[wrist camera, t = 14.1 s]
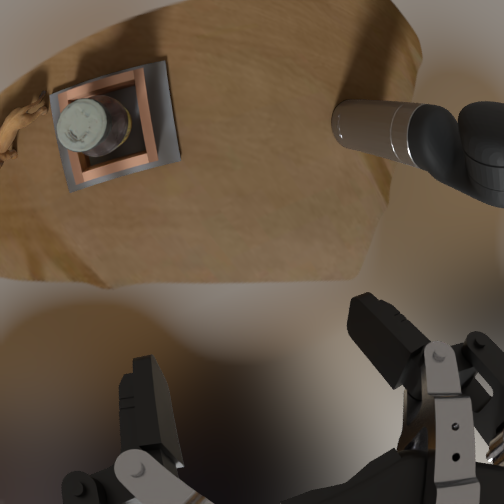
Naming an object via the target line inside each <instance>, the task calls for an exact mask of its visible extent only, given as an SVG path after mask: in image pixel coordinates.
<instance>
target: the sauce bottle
mask: <svg viewBox="0 0 504 504" xmlns="http://www.w3.org/2000/svg"><path fill="white" fill-rule="evenodd" d="M131 129H132V119H131V116H130V113H129V112H128V110H127V109H126V108H125V107H124V106H123V105H122V104H121V103H120V102H119V101H117V100H116V99H114V98H111V97H109V96H105V95H97V96H91V97H89V98H81V99H77V100H75V101H73V102H72V103H70V104H68V105H67V106H66V107H65V108H64V109H63V111H62V112H61V114H60V117H59V119H58V123H57V135H58V139H59V140H60V142H61V144H62V145H63V146H64V147H65V148H67V149H68V150H70V151H73V152H82V153H83V154H85V155H87V156H92V157H98V156H103V155H106V154H108V153H110V152H112V151H113V150H115V149H116V148H117V147H119V146H120V145H121V144H122V143H124V142H125V141H126V139H127V138H128V136H129V134H130V132H131Z"/></svg>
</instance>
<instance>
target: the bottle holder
mask: <svg viewBox="0 0 504 504" xmlns="http://www.w3.org/2000/svg"><path fill="white" fill-rule="evenodd" d="M97 95H105V96H109V97H111V98H114V99H116V100H117V101H119V102H120V103H121V104H122V105H123V106H124V107H125V108H126V109H127V110H128V112H129V113H130V116H131V119H132V129H131V132H130V134H129V136H128V138H127V139H126V141H125V142H124V143H122V144H121V145H120V146H119V147H117V148H116V149H115V150H113V151H112V152H110V153H108V154H106V155H103V156H98V157H92V156H87V155H85V154H83V153H82V152H73V151H70V150H68V149H67V148H65V147H64V146H63V145H62V144H61V142H60V140H59V139H58V135H57V123H58V119H59V117H60V114H61V112H62V111H63V109H64V108H65V107H66V106H67V105H68V104H70V103H72V102H73V101H75V100H77V99H81V98H89V97H91V96H97ZM50 103H51V110H52V116H53V122H54V128H55V133H56V138H57V143H58V148H59V152H60V157H61V161H62V165H63V169H64V173H65V177H66V181H67V185H68V188H69V192H70V193H71V192H74V191H77V190H80V189H83V188H86V187H89V186H92V185H95V184H98V183H101V182H104V181H108V180H111V179H114V178H118V177H121V176H124V175H128V174H131V173H135V172H139V171H142V170H146V169H150V168H154V167H158V166H162V165H166V164H170V163H174V162H178V161H181V158H180V153H179V147H178V142H177V136H176V130H175V124H174V118H173V112H172V105H171V99H170V92H169V85H168V78H167V71H166V63H165V61H160V62H155V63H150V64H146V65H141V66H137V67H133V68H129V69H125V70H121V71H117V72H114V73H110V74H107V75H104V76H100V77H97V78H94V79H91V80H88V81H85V82H82V83H79V84H77V85H74V86H71V87H69V88H66V89H63V90H61V91H58V92H56V93H53V94H51V95H50Z"/></svg>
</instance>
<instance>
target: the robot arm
mask: <svg viewBox="0 0 504 504" xmlns="http://www.w3.org/2000/svg"><path fill="white" fill-rule="evenodd" d="M332 130H333V133H334V136H335V138H336V140H337V141H338V142H339V143H340V144H341V145H342V146H344V147H346V148H348V149H353V150H357V151H361V152H364V153H368V154H372V155H376V156H379V157H383V158H387V159H390V160H393V161H397V162H401V163H403V164H407V165H410V166H413V167H416V168H420V169H422V170H425V171H428V172H429V173H430V174H431V175H432V176H433V177H434V178H435V179H436V180H438V181H440V182H441V183H444V184H446V185H448V186H450V187H452V188H454V189H456V190H458V191H461V192H462V193H465V194H467V195H469V196H471V197H472V198H475V199H477V200H479V201H481V202H483V203H486V204H488V205H491V206H495V207H499V208H504V103H498V102H488V101H485V102H482V101H481V102H475V103H472V104H469V105H467V106H465V107H464V108H463V109H462V110H461V111H460V113H459V116H458V123H457V121H456V119H455V118H454V117H453V116H452V114H451V113H450V112H449V111H448V110H447V109H445V108H443V107H441V106H437V105H430V104H421V103H410V102H398V101H383V100H345V101H343V102H341V103H340V104H339V105H338V106H337V107H336V109H335V110H334V113H333V116H332ZM347 330H348V333H349V335H350V337H351V338H352V340H353V341H354V342H355V343H356V344H357V346H358V347H359V348H360V349H361V351H362V352H363V353H364V354H365V355H366V356H367V358H368V359H369V360H370V361H371V363H372V364H373V365H374V366H375V368H376V369H377V370H378V371H379V373H381V375H382V376H383V377H384V379H385V380H386V381H387V382H388V384H389V385H390V386H391V387H392V389H393V390H394V389H396V388H398V387H399V386H401V385H403V386H404V387H405V390H404V396H403V397H404V399H403V427H402V432H401V435H400V438H399V441H398V445H397V451H396V450H395V448H393V449H391V450H390V451H388V452H386V453H385V454H383V455H382V456H380V457H378V458H376V459H374V460H373V461H371V462H369V464H367V465H366V466H365V467H364V468H363V469H362V470H361V471H359V472H358V473H357V474H356V475H355V476H353V477H352V478H351V479H350V480H349V481H348V482H346V483H343V484H340V485H335V486H331V487H326V488H321V489H315V490H311V491H308V492H306V493H303V494H300V495H298V496H295V497H292V498H290V499H287V500H284V501H281V502H280V504H504V352H502V350H500V348H499V347H498V346H497V345H496V344H495V343H494V342H493V341H492V340H491V339H490V338H489V337H488V336H487V335H485V334H483V333H481V332H477V331H475V332H471V333H469V335H468V336H467V338H466V340H465V342H464V343H460V344H456V345H453V346H449V345H448V344H446V343H444V342H441V341H434V342H431V341H430V340H429V339H428V338H427V337H425V336H424V335H423V334H422V333H421V332H420V331H419V330H418V329H417V328H416V327H415V326H414V325H413V324H412V323H411V322H410V321H409V320H407V319H406V317H404V315H402V314H400V312H399V311H398V310H397V309H396V308H395V307H394V306H393V305H391V304H389V303H387V302H385V301H383V300H378V299H377V298H376V297H375V296H374V295H373V294H371V293H369V292H366V293H364V294H361V295H358V296H356V297H353V298H352V299H351V302H350V308H349V315H348V320H347ZM478 372H479V374H480V375H481V376H482V377H483V378H484V379H485V380H486V382H487V383H488V384H489V385H490V386H491V387H492V389H493V397H491V396H490V395H489V394H488V393H487V392H486V390H485V389H484V388H483V387H482V386H481V384H480V383H479V382H478V381H477V380H476V379H475V376H476V374H477V373H478ZM119 400H120V401H119V409H120V412H119V417H120V435H121V453H120V456H119V457H118V458H117V459H116V462H115V463H114V464H113V465H112V466H111V467H109V468H107V469H104V470H102V471H99V472H97V473H94V474H91V475H88V474H86V473H84V472H81V471H74V472H71V473H69V474H67V475H66V477H65V478H64V479H63V482H62V497H63V504H214V503H212V502H211V501H209V500H207V499H206V498H205V497H203V496H202V495H200V494H199V493H197V492H196V491H194V490H193V489H192V488H190V487H189V486H187V485H186V484H185V483H183V482H182V481H181V480H180V479H179V477H178V473H177V469H176V468H179V467H184V463H183V459H182V455H181V450H180V446H179V441H178V436H177V431H176V426H175V421H174V416H173V410H172V405H171V399H170V393H169V389H168V385H167V382H166V380H165V378H164V376H163V374H162V371H161V370H160V368H159V366H158V364H157V362H156V359H155V357H154V356H153V355H147V356H143V357H137V358H134V359H133V373H129V374H125V375H124V376H123V378H122V380H121V383H120V385H119ZM474 427H475V428H476V429H477V431H478V432H479V433H480V435H481V436H482V438H483V439H484V440H485V442H486V443H487V444H488V446H489V451H488V452H487V454H486V459H487V460H488V461H493V464H486V463H479V462H475V438H474Z"/></svg>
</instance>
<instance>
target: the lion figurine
mask: <svg viewBox="0 0 504 504" xmlns="http://www.w3.org/2000/svg"><path fill="white" fill-rule="evenodd" d="M44 96H45V91H42V93H41V95H40V96H39V100H38V101H37V102H35V103H32V104H30V105H27V106H25V107H23V108H20V107H18V108H16V109H14V110H13V111H12V112H11V113H10V114H9V115H8V116H7V117H6V119H5V121H4V123H3V125H2V126H1V128H0V168H1V167H2V165H3V163H4V161H6V160H8V159H9V158H10V157H11V159H15V158H17V152H16V151H15V149H13V150H11V151H9V150H8V148H9V147H10V145H11V144H12V142H13V140H14V139H15V137H16V134H17V131H18V129H20V128H24V127H26V126H27V125H29V124H31V123H32V122H33V121H34V120H35V119H36V118H37V117H38V116H39V115H40V114H41V115H45V114H47V112H48V109H47V107H46V106H43V107H41V108H39V109H38V110H37V111H36V112H35V113H33V114H29V113H27V110H28V109H30V108H33V107H34V106H36V105H38V104H39V103H40V102H41V100H42V98H43V97H44Z"/></svg>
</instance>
